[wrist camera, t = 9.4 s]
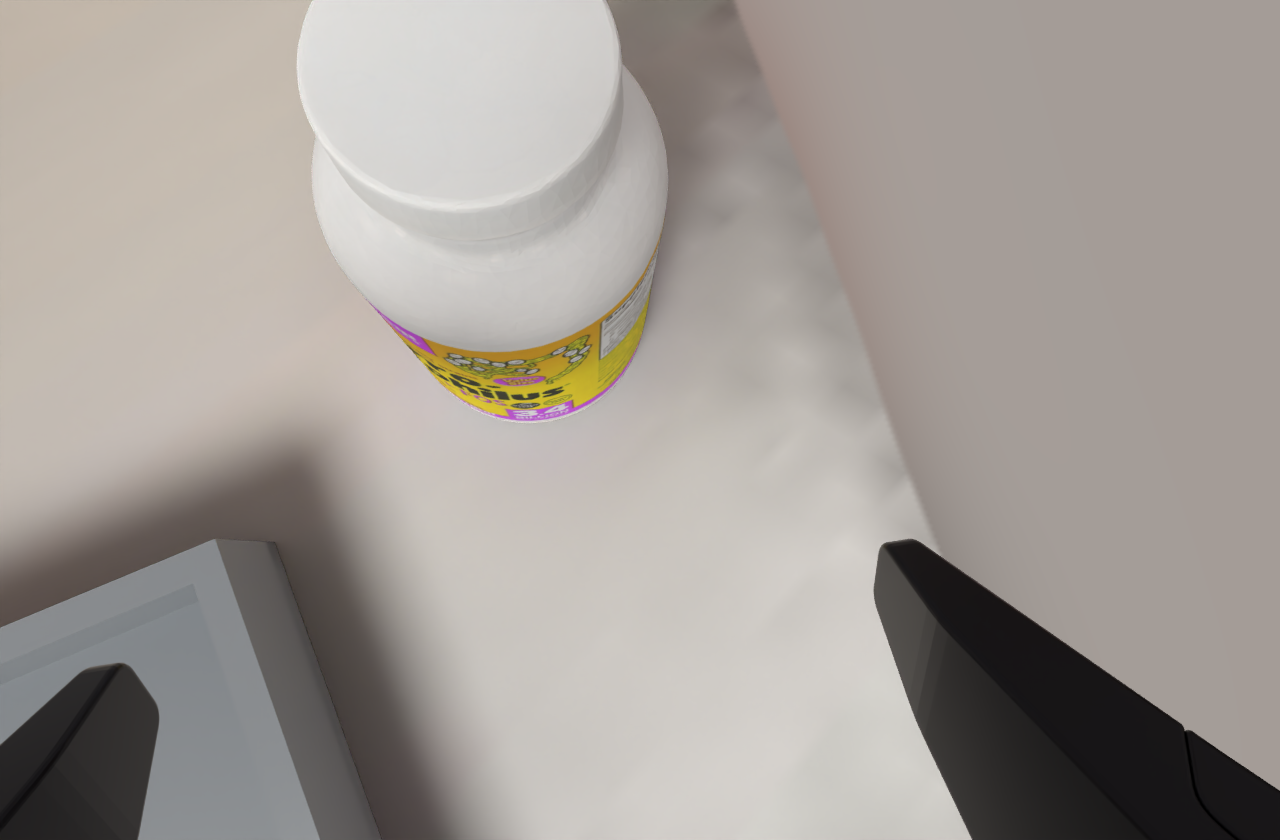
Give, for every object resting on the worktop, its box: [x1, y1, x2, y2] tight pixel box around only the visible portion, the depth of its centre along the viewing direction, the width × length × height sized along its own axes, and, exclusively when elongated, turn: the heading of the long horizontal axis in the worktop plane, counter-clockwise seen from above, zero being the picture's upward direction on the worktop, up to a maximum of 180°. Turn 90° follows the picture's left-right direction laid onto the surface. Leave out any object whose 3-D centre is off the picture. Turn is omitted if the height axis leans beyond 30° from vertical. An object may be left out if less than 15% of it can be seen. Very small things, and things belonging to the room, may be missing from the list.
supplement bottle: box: [297, 0, 668, 423], centre depth 18 cm, size 7×7×13 cm
